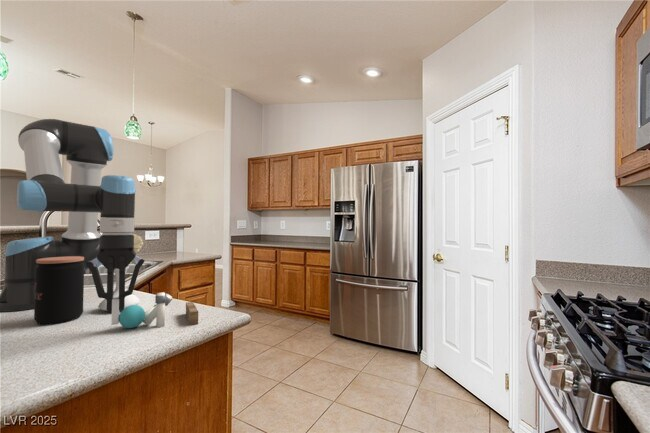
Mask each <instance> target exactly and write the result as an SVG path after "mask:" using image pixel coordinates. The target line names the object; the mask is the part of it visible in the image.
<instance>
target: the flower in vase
mask: <svg viewBox="0 0 650 433" xmlns="http://www.w3.org/2000/svg"><path fill="white" fill-rule="evenodd" d="M132 235H133V236H134V251H135V253H136V254H137V253H138V252H140V251H141V250H140V249H142V248H143V245H144V242H143V239H142V236H140V235H137V234H135V233H134V234H133V233H132ZM134 262H135V260H134V259H133V260H132V262H131V263H130V264H134ZM129 268H130V266H129V265H128V266H127V267H126V270H125V275H126V273H127V271H128V270H129ZM114 277H115V281H116V283H115V289H113V298H114V297H119V269H114ZM127 290H128V289H126V288H125V291H127ZM139 303H141V300H140V298H139V297H138V296H137V295H135V294H133V293H132V294H131V295H128V296H126V297H125V307H124V308H126V307H128V306H130V305H138V306H139ZM97 306H98V308H99V309H100V310H102V311H107V300H106V299H105V298H103V300H101V302H100V303H99V305H97Z"/></svg>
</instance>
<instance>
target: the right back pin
mask: <svg viewBox="0 0 650 433" xmlns="http://www.w3.org/2000/svg"><path fill="white" fill-rule="evenodd" d="M166 294H167V293H166V292H164V291H163V292H157V293H156V295H155V297H154V298H155V305H156V304H157V311H156V318H155V319H156V320H155V321H156V322H155V323H156V324H155V326H156V327H155V328H163V327H165V321H166V320H165V316H166V314H165V313H166V306H165V302H166Z"/></svg>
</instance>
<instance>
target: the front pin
mask: <svg viewBox="0 0 650 433" xmlns="http://www.w3.org/2000/svg"><path fill="white" fill-rule="evenodd" d="M165 294H166V302H165V307H167V306H169V304H170V303H171V301H172V300H173V296H171V295H170V294H169V293H165ZM155 305H156V304H155ZM156 311H157V305H156V306H155V308H154V309H153V310H152V311H151V312H150V313H149V315H148V316H147V317H146V318H145V319H144V320H143V322H142V323H143V324H144V325H146V326H150V325H151V324H152V323H153V321H154V320H155V319H156Z"/></svg>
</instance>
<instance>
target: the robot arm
mask: <svg viewBox="0 0 650 433" xmlns="http://www.w3.org/2000/svg"><path fill="white" fill-rule="evenodd" d="M17 139H18V140H17V141H18V145H19V147H20V149H21V150H22V151H23V152H24V162H25V174H26V175H25V176H26V180H25V179H24V180H20V181H18V183H17V189H16V204H17V205H16V206H17V208H18V209H20V210H22V211H35V212H39V213H40V212H68V217H67V220H68V221H67V230H66V231H65V232H63V233H62V234H61V239H59V240H58V239H55V238H54V237H53V236H39V237H31V238H23V239H17V240H12V241H9V242H7V244H6V246H5V254H4V257H5V259H4V260H5V263H4V266H5V267H4V283H3V284H4V285H3V288H2V290H1V292H0V312H17V311H26V310H27V311H28V310H34V308H35V273H36V268H37V267H38V264H37V263H36V260H37V259H41V258H51V257H68V256H81V257H84V260H83V261H82V264H83V265H84V271H87V270H89V271H90V273H91V276H92V279H93V283H94V287H95V290H96V294H97V297H98V298H99V299H106V300H107V313H110V312H111V325H112V326H114V325H119V324H120V322H119V315H120V311H122V310H123V309H124V307H125V297H126V296H128V295H131V294H133V292H134V288H135V285H136V282H137V279H138V275H139V273H140V269H141V268H142V266H143V265H144V264H145V259H144V258H143V257H142V258H141V257H140V256H138V255H137V252H136V253H135V251H134V236H133V235H132V234H133V233H134V232H135V219H136V218H135V212H136V211H135V207H136V191H137V190H136V184H135V183H136V182H135V179H134V178H132V177H130V176H125V175H115V174H114V175H111V174H108V175H103V176H102V170H103V169H104V168H105V167H107V165H108V164H107V162H111V161H112V160H113V158H114V142H113V138H112V136H111V133H110V132H109V131H108V130H107V129H104V128H101V127H96V126H92V125H87V124H81V123H76V122H71V121H67V120H60V119H56V118H43V119H39V120H38V119H37V120H35V121H32V122H30V123H28V124H27V125H25V126H24V127H23V128H22V129H21V130H20V131H19V134H18V138H17ZM60 155H62V156H66V158H65V159H66V162H67V163H68V164H69V165H70V167H71V170H70V183H66V180H65V176H64V172H63V168H62V163H61V160H60ZM99 213H100V217H99ZM99 219H100V220H99ZM98 220H99V232H98ZM133 259H134V260H135V262H134V263H133V264H134V265H135V266H134V269H133V272H132V274H131V279H130V282H129V285H128V288H127V289H126V274H125V270H126V267H127V266H129V265H130V264H132V263H131V262H132V260H133ZM101 265H102V266H103V267H104V268H105V269H106V276H107V277H106V291H105V287H104V285H103V280H102V278H101V275H100V274H101V273H100V271H99V267H101ZM114 269H119V297H114V298H113V292H114V281H115V279H114V278H115V272H114ZM125 289H126V290H127V291H125Z"/></svg>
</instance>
